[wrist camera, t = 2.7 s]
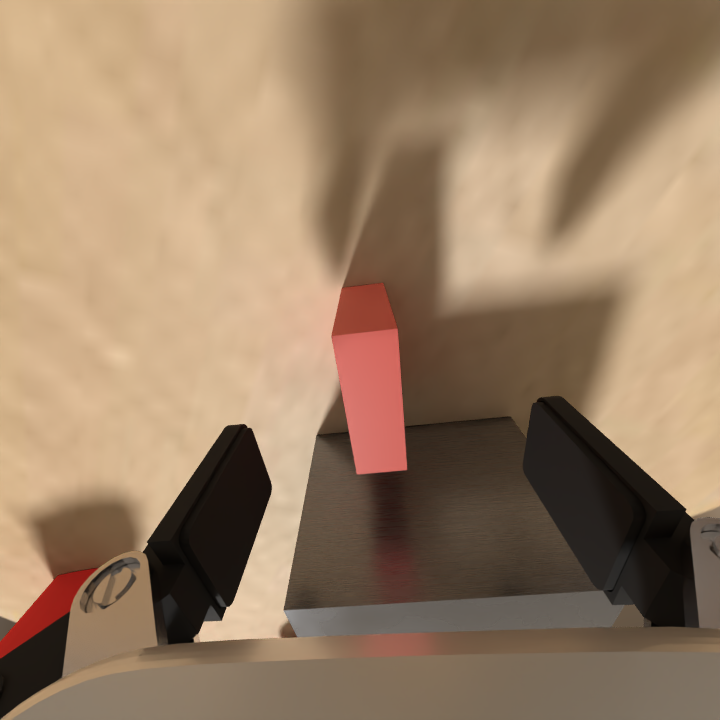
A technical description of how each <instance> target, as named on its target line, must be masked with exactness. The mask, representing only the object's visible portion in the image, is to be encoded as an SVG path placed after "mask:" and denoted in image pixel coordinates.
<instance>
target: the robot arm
mask: <svg viewBox="0 0 720 720" xmlns="http://www.w3.org/2000/svg"><path fill="white" fill-rule="evenodd" d="M523 471H524V474H525V476H526V478H527V479H528V481H529V482H530V484H531V486H532V487H533V489H534V491H535V492H536V494H537V495H538V497H539V499H540V500H541V502H542V503H543V505H544V507H545V508H546V510H547V511H548V513H549V515H550V516H551V518H552V519H553V521H554V523H555V524H556V526H557V527H558V529H559V531H560V532H561V534H562V536H563V537H564V539H565V540H566V542H567V544H568V545H569V547H570V548H571V550H572V552H573V553H574V555H575V556H576V558H577V560H578V561H579V563H580V564H581V566H582V568H583V569H584V571H585V572H586V574H587V576H588V577H589V579H590V581H591V582H592V583H593V585H594V586H595V587H596V588H597V589H598V590H602V591H603V592H604V593H605V595H606V596H607V598H608V599H609V601H610V603H611V604H612V605H631V604H635V606H636V607H637V608H638V610H639V611H640V613H641V614H642V616H643V617H644V627H592V628H557V629H523V630H488V631H457V632H428V633H399V634H371V635H343V636H318V637H294V638H269V639H244V640H228V641H212V642H200V639H199V635H198V633H199V631H200V629H201V626H202V624H203V621H222V618H223V616H224V613H225V610H226V607H229V606H230V605H231V604H232V603H233V601H234V598H235V596H236V593H237V590H238V587H239V584H240V581H241V578H242V575H243V573H244V570H245V567H246V564H247V561H248V558H249V555H250V553H251V550H252V547H253V544H254V541H255V538H256V535H257V532H258V530H259V527H260V524H261V521H262V518H263V515H264V512H265V510H266V507H267V504H268V501H269V498H270V495H271V491H272V485H271V481H270V478H269V475H268V472H267V470H266V467H265V464H264V461H263V458H262V456H261V453H260V450H259V447H258V444H257V442H256V439H255V436H254V433H253V431H252V429H251V428H247V426H246V425H245V424H239V425H228V426H226V427H225V428H224V430H223V431H222V433H221V434H220V436H219V437H218V439H217V440H216V442H215V443H214V445H213V446H212V447H211V449H210V450H209V452H208V453H207V455H206V456H205V458H204V459H203V461H202V462H201V464H200V465H199V467H198V468H197V469H196V471H195V472H194V474H193V475H192V477H191V478H190V480H189V481H188V483H187V484H186V486H185V487H184V489H183V490H182V491H181V493H180V494H179V496H178V497H177V499H176V500H175V502H174V503H173V505H172V506H171V508H170V509H169V511H168V512H167V513H166V515H165V516H164V518H163V519H162V521H161V522H160V524H159V525H158V527H157V528H156V530H155V531H154V533H153V534H152V535H151V537H150V538H149V540H148V541H147V543H148V545H147V547H146V548H145V550H144V551H143V553H142V552H141V551H130V552H126V553H122V554H120V555H118V556H116V557H114V558H112V559H111V560H109V561H108V562H106V563H105V564H103V565H102V566H100V567H99V568H98V569H97V570H96V571H95V572H94V573H93V574H92V575H90V576H89V578H88V579H87V580H86V581H85V582H84V583H83V585H82V586H81V587H80V589H79V590H78V592H77V594H76V595H75V597H74V599H73V602H72V606H71V609H70V611H69V612H68V613H67V614H65V615H64V616H62V617H61V618H59V619H58V620H56V621H55V622H53V623H52V624H50V625H49V626H47V627H46V628H44V629H43V630H42V631H40V632H39V633H37V634H36V635H34V636H33V637H31V638H30V639H28V640H27V641H25V642H24V643H22V644H21V645H20V646H18V647H17V648H15V649H14V650H12V651H11V652H9V653H8V654H6V655H5V656H3V657H2V658H0V720H720V518H712V517H705V518H698V519H696V520H694V519H692V518H691V517H690V516H689V515H688V514H687V513H686V512H685V511H686V508H684V507H683V506H682V505H681V504H680V503H679V502H678V501H677V500H676V499H675V498H673V497H672V496H671V495H670V494H669V493H668V492H667V491H666V490H665V489H663V488H662V487H661V486H660V485H659V484H658V483H657V482H656V481H655V480H653V479H652V478H651V477H650V476H649V475H648V474H647V473H646V472H645V471H644V470H642V469H641V468H640V467H639V466H638V465H637V464H636V463H635V462H634V461H632V460H631V459H630V458H629V457H628V456H627V455H626V454H625V453H624V452H622V451H621V450H620V449H619V448H618V447H617V446H616V445H615V444H614V443H612V442H611V441H610V440H609V439H608V438H607V437H606V436H605V435H604V434H603V433H601V432H600V431H599V430H598V429H597V428H596V427H595V426H594V425H593V424H591V423H590V422H589V421H588V420H587V419H586V418H585V417H584V416H583V415H581V414H580V413H579V412H578V411H577V410H576V409H575V408H574V407H573V406H571V405H570V404H569V403H568V402H567V401H566V400H565V399H564V398H562V397H561V396H552V397H541V398H539V399H538V400H537V402H536V403H533V405H532V408H531V415H530V421H529V427H528V433H527V440H526V446H525V452H524V458H523Z"/></svg>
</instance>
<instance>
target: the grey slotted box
mask: <svg viewBox="0 0 720 720" xmlns="http://www.w3.org/2000/svg"><path fill="white" fill-rule="evenodd" d="M404 429H405V444H406V459H407V470H402V471H391V472H380V473H368V474H357V473H356V467H355V462H354V456H353V451H352V445H351V440H350V434H349V432H345V433H335V434H325V435H317V436H316V442H315V447H314V452H313V457H312V463H311V468H310V473H309V479H308V484H307V489H306V495H305V500H304V505H303V510H302V516H301V521H300V526H299V532H298V537H297V542H296V548H295V553H294V558H293V563H292V569H291V574H290V579H289V585H288V590H287V595H286V601H285V606H284V612H285V614H286V616H287V618H288V620H289V622H290V624H291V626H292V628H293V630H294V632H295V634H296V636H297V637H318V636H343V635H371V634H399V633H428V632H457V631H488V630H523V629H557V628H592V627H611V626H612V625H613V623H614V621H615V620H616V618H617V616H618V615H619V613H620V612H621V610H622V609H623V607H624V605H612V604H611V603H610V601H609V599H608V598H607V596H606V595H605V593H604V592H603V591H602V590H598V589H597V588H596V587H595V586H594V585H593V583H592V582H591V581H590V579H589V577H588V576H587V574H586V572H585V571H584V569H583V568H582V566H581V564H580V563H579V561H578V560H577V558H576V556H575V555H574V553H573V552H572V550H571V548H570V547H569V545H568V544H567V542H566V540H565V539H564V537H563V536H562V534H561V532H560V531H559V529H558V527H557V526H556V524H555V523H554V521H553V519H552V518H551V516H550V515H549V513H548V511H547V510H546V508H545V507H544V505H543V503H542V502H541V500H540V499H539V497H538V495H537V494H536V492H535V491H534V489H533V487H532V486H531V484H530V482H529V481H528V479H527V478H526V476H525V474H524V471H523V458H524V452H525V446H526V440H527V439H526V437H525V436H524V435H523V433H522V432H521V430H520V429H519V428H518V426H517V425H516V424H515V422H514V421H513V419H512V418H511V417H501V418H490V419H480V420H470V421H459V422H449V423H439V424H428V425H418V426H408V427H404Z"/></svg>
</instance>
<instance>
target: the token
mask: <svg viewBox="0 0 720 720" xmlns="http://www.w3.org/2000/svg"><path fill="white" fill-rule="evenodd" d="M332 342H333V347H334V353H335V358H336V364H337V369H338V375H339V380H340V385H341V391H342V396H343V402H344V407H345V413H346V418H347V424H348V429H349V434H350V440H351V445H352V451H353V456H354V462H355V467H356V473H357V474H368V473H380V472H391V471H402V470H407V459H406V444H405V429H404V415H403V400H402V385H401V370H400V355H399V341H398V328H397V325H396V322H395V318H394V315H393V312H392V309H391V306H390V303H389V300H388V296H387V293H386V290H385V287H384V284H383V283H377V284H369V285H361V286H353V287H345V288H342V290H341V295H340V299H339V304H338V309H337V313H336V318H335V322H334V327H333V331H332Z"/></svg>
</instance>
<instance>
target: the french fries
mask: <svg viewBox="0 0 720 720" xmlns="http://www.w3.org/2000/svg"><path fill="white" fill-rule="evenodd" d="M97 569H98V568H96V569H88V570H83V571H77V572H72V573H67V574H62V575H58V576H57V577H56V578H55V579H54V580H53V581H52V583H51V584H50V585H49V586H48V587H47V588H46V590H45V591H44V592H43V593H42V594H41V595H40V596H39V598H38V599H37V600H36V601H35V602H34V603H33V605H32V606H31V607H30V608H29V609H28V610H27V611H26V613H25V614H24V615H23V616H22V617H21V618H20V620H19V621H18V622H17V623H16V624H15V625H14V626H13V628H12V629H11V630H10V631H9V632H8V633H7V635H6V636H5V637H4V638H3V639H2V640H1V642H0V658H2V657H3V656H5V655H6V654H8V653H9V652H11V651H12V650H14V649H15V648H17V647H18V646H20V645H21V644H22V643H24V642H25V641H27V640H28V639H30V638H31V637H33V636H34V635H36V634H37V633H39V632H40V631H42V630H43V629H44V628H46V627H47V626H49V625H50V624H52V623H53V622H55V621H56V620H58V619H59V618H61V617H62V616H64V615H65V614H67V613H68V612H69V611H70V609H71V606H72V602H73V599H74V597H75V595H76V594H77V592H78V590H79V589H80V587H81V586H82V585H83V583H84V582H85V581H86V580H87V579H88V578H89V576H90V575H92V574H93V573H94V572H95V571H96V570H97Z"/></svg>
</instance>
